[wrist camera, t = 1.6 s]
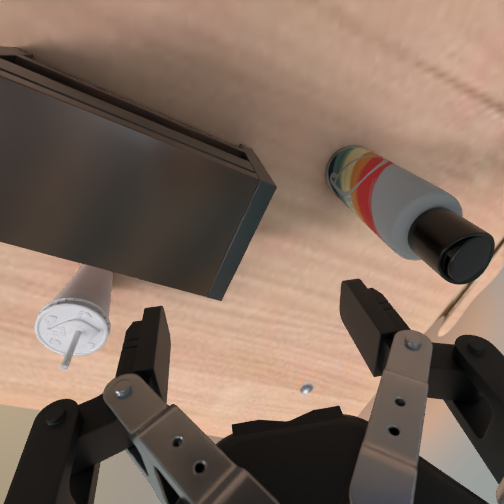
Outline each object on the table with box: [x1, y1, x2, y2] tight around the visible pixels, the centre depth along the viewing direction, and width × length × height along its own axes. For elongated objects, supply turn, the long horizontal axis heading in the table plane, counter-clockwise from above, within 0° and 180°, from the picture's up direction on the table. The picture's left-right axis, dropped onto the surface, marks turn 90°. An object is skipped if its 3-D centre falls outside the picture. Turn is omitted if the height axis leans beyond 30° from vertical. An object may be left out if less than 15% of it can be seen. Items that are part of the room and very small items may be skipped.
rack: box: [0, 47, 277, 301], centre depth 30 cm, size 22×11×12 cm, turn 66°
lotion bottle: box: [326, 146, 495, 284], centre depth 31 cm, size 6×6×20 cm
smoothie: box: [35, 264, 113, 370], centre depth 35 cm, size 6×6×14 cm
